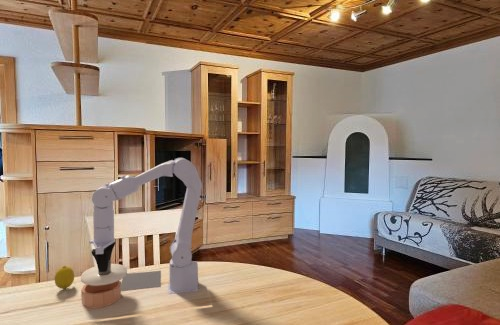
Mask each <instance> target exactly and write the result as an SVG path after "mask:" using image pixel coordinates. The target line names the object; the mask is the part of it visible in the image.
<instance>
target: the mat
mask: <svg viewBox="0 0 500 325" xmlns="http://www.w3.org/2000/svg"><path fill="white" fill-rule="evenodd" d="M161 278H162V271H161V270H154V271H142V272H132V273H131V272H130V273H127V274H126V276H125V277H124V278H122V279H121V292H124V291H133V290H134V291H135V290H143V289H152V288H153V289H154V288H161V282H162V280H161Z"/></svg>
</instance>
